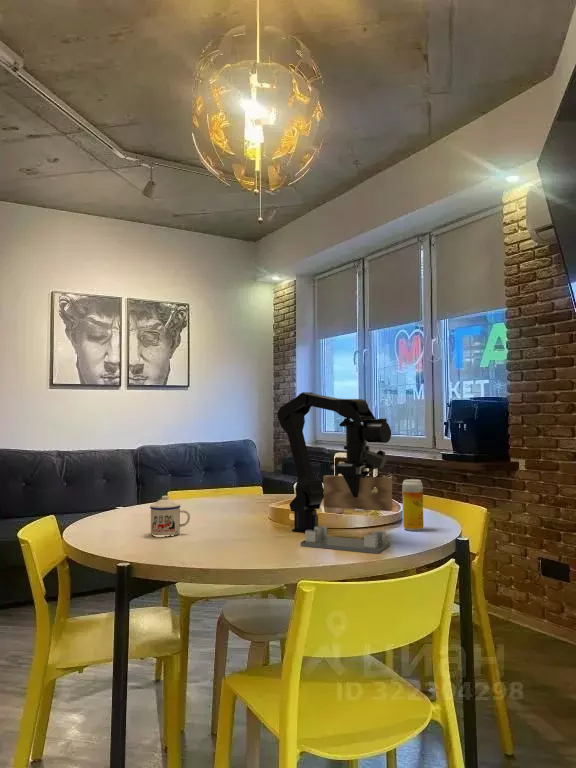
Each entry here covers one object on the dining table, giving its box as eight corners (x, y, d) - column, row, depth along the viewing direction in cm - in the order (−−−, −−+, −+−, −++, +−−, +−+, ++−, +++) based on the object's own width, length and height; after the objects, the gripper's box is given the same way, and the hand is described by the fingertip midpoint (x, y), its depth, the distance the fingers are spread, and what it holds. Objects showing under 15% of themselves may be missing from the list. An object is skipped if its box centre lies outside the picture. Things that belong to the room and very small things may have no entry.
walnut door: (322, 507, 172) (322, 476, 173) (327, 505, 175) (326, 475, 176) (388, 511, 163) (387, 478, 164) (392, 509, 166) (391, 477, 167)
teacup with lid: (147, 538, 174) (147, 498, 175) (153, 532, 183) (152, 494, 184) (188, 537, 175) (188, 497, 175) (191, 531, 184) (191, 493, 184)
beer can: (423, 531, 178) (422, 481, 178) (403, 531, 179) (402, 481, 180) (423, 527, 184) (422, 479, 184) (403, 527, 185) (402, 479, 186)
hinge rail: (300, 545, 161) (300, 531, 161) (315, 538, 170) (315, 524, 170) (377, 553, 151) (377, 537, 151) (389, 545, 160) (389, 530, 160)
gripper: (371, 444, 159) (373, 502, 158) (392, 440, 175) (394, 493, 175) (333, 443, 164) (334, 500, 163) (357, 440, 180) (358, 492, 180)
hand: (357, 496), depth 170 cm, fingers closed on walnut door, 2 cm apart
